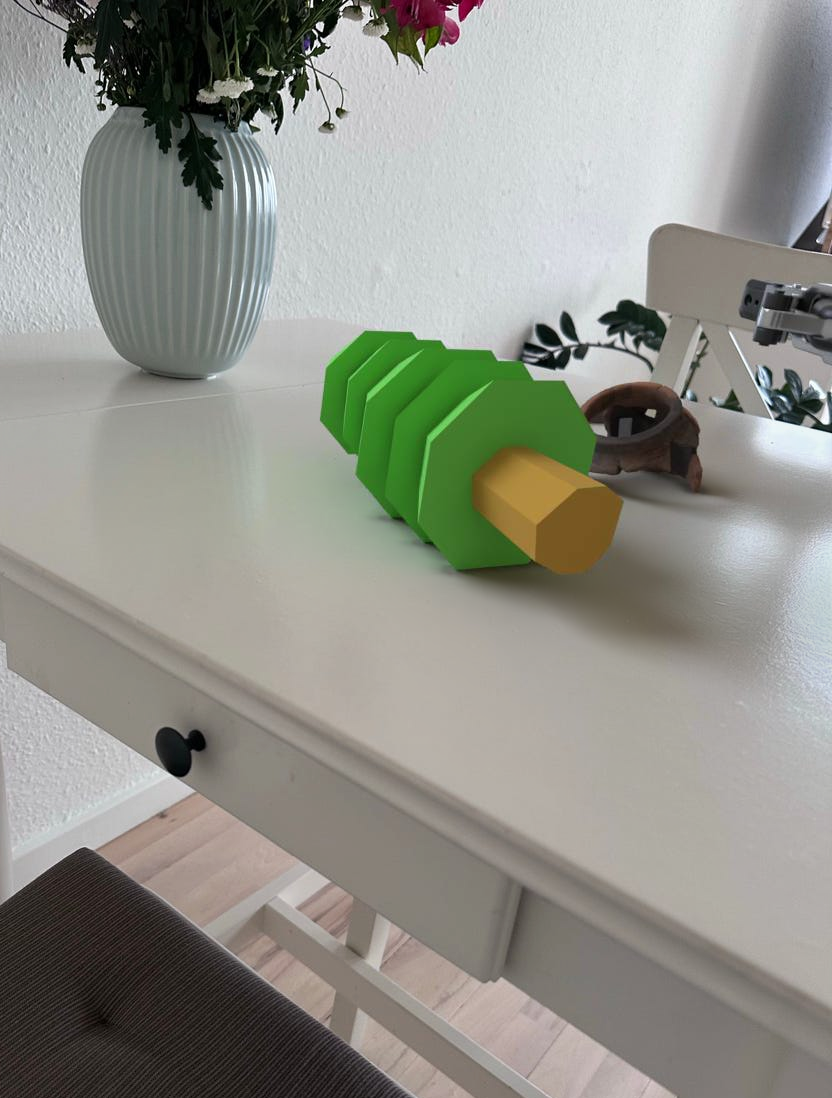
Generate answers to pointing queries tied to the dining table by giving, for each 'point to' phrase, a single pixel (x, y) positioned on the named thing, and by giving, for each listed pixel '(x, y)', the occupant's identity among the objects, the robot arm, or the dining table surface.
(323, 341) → the dining table surface
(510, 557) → the decorative tree
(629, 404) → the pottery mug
